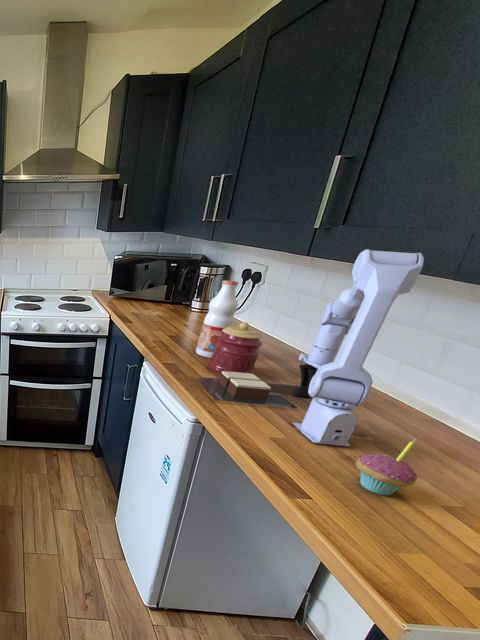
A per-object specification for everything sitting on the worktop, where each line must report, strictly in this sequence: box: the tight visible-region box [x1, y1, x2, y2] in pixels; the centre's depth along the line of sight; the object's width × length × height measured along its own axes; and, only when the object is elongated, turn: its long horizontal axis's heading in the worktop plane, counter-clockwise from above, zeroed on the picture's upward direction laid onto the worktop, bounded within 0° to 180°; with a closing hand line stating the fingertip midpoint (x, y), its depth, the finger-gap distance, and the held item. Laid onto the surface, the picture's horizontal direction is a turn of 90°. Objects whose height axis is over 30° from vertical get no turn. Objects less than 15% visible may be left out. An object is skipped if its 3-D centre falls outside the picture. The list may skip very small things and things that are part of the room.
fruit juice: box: [195, 279, 239, 359], centre depth 149 cm, size 9×9×28 cm
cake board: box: [193, 376, 298, 409], centre depth 122 cm, size 18×22×1 cm
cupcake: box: [355, 438, 418, 496], centre depth 79 cm, size 9×8×12 cm
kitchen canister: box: [208, 321, 264, 375], centre depth 135 cm, size 13×13×18 cm
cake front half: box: [227, 379, 271, 400], centre depth 119 cm, size 5×9×4 cm, turn 81°
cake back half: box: [219, 371, 261, 389], centre depth 124 cm, size 5×9×4 cm, turn 81°
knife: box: [263, 381, 311, 398], centre depth 120 cm, size 18×2×3 cm, turn 81°
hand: (307, 390), depth 119 cm, fingers closed on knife, 2 cm apart
